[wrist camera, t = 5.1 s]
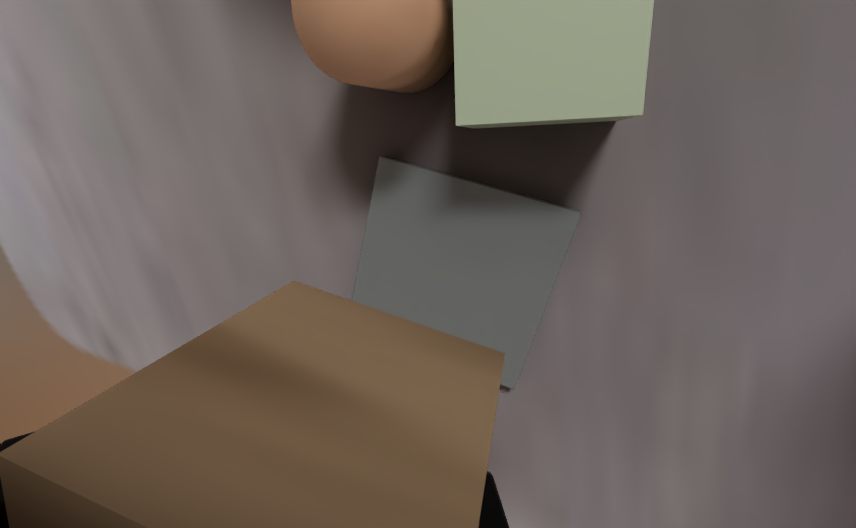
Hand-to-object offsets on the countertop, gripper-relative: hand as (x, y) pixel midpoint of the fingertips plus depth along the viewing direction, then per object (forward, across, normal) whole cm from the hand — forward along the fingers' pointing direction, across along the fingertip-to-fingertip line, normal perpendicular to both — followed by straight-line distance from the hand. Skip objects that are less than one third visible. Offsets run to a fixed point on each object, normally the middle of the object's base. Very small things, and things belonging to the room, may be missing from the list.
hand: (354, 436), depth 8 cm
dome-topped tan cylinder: (+10, +4, -8) cm, 14 cm away
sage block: (+10, -1, -9) cm, 14 cm away
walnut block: (+1, 0, 0) cm, 1 cm away
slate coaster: (+10, 0, 0) cm, 10 cm away
